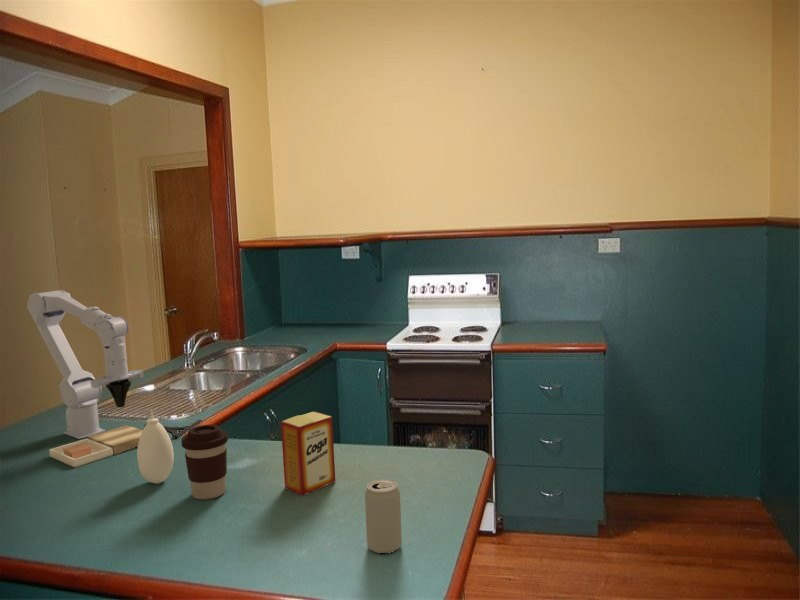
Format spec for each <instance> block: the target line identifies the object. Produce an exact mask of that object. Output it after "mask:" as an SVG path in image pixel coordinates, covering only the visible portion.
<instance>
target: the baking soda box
mask: <svg viewBox="0 0 800 600" xmlns="http://www.w3.org/2000/svg"><path fill="white" fill-rule="evenodd" d="M280 431H281V445H282V446H281V447H282V459H283V461H282V463H283V477H284V489H286V488H288V489H290V490H289V491H291V490H292V491H291V492H293V491H294V493H295V492H297V493H296V494H298V493H299V494H298V495H300V494H301V495H300V496H302V495H303V496H305V495H304V494H306V493H308V492H311V491H313V490H315V491H317V490H316V489H318V488H320V487H322V486H324V485H326V484H329V483H331V482H334V481H335V482H336V471H335V470H336V467H335V449H334V448H335V447H334V428H333V416H331V415H329V414H324V413H320V412H318V411H311V412H308V413H305V414H301V415H299V414H298V415H295V416H293V417H290V418H286V419H284V420H282V421H280ZM335 482H334V483H335ZM329 485H330V484H329ZM322 488H323V487H322ZM288 489H287V490H288ZM320 489H321V488H320ZM318 490H319V489H318ZM313 492H314V491H313ZM311 493H312V492H311ZM308 494H309V493H308ZM306 495H307V494H306Z"/></svg>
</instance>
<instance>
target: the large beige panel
mask: <svg viewBox="0 0 800 600" xmlns="http://www.w3.org/2000/svg"><path fill="white" fill-rule="evenodd" d="M142 431H143V429H140V428H138V427H134V426H130V425H128V424H126V425H123V426H119V427H116V428H113V429H109V430H105V432H102V433H98V434H95V435H91V436H88V437H87V439H90V440H93V441H95V442H98V443H101V444H103V445H106V446H109V447H111V448H113V454H114V455H113V456H115V454H116V455H118V453H119V454H122V453H124V452H123V451H125V452H127V451H126V450H128V451H130V450H129V449H131V450H133V449H132V448H134V449H136V448H135V447H137V448H138V443H139V439H140V436H141V433H142ZM121 452H122V453H121Z"/></svg>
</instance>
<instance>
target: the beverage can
mask: <svg viewBox="0 0 800 600" xmlns="http://www.w3.org/2000/svg"><path fill="white" fill-rule="evenodd" d="M398 486H399V484H398V482H396V481H394V480H391V479H387V478H385V479H384V478H381V479H375V480H372V481H370V482H369V483H367V484H366V490H365V491H364V501H365V504H364V505H365V521H366V522H365V524H366V525H365V526H366V527H365V528H366V529H365V530H366V546H367V548H368V549H369V550H371V552H373V551H374V552H373V553H375V552H378V553H389V552H392V551H394V552H396V551H397V550H399V548H400V547H401V546H402V543H403V540H402V539H403V538H402V511H401V507H402V506H401V490H400V488H399V487H398ZM395 550H396V551H395ZM378 553H377V554H378ZM392 553H393V552H392ZM389 554H390V553H389Z"/></svg>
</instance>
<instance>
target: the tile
mask: <svg viewBox="0 0 800 600" xmlns="http://www.w3.org/2000/svg"><path fill="white" fill-rule="evenodd" d="M63 452H64V454H65V455H67V456H69V457H72V458H74V459H77V458H80V457H83V456H86V455H89V454H92V451H91V447H90V446H88V445H85V444H83V443H81V444H78V445H74V446H71V447H68V448H64V449H63Z"/></svg>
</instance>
